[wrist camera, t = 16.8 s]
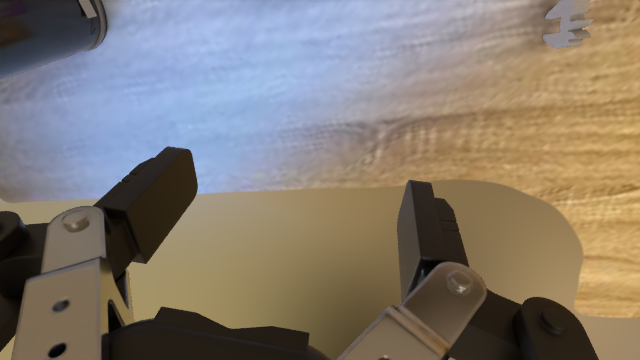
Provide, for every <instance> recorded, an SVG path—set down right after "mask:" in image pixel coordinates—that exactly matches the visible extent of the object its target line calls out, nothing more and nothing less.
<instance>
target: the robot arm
mask: <svg viewBox="0 0 640 360" xmlns="http://www.w3.org/2000/svg"><path fill="white" fill-rule="evenodd" d="M105 32H106V18H105V13H104V9H103V6H102V4H101V1H100V0H0V80H3V79H6V78H8V77H11V76H14V75H17V74H20V73H23V72H26V71H28V70H31V69H34V68H37V67H40V66H43V65H45V64H48V63H51V62H54V61H57V60H60V59H63V58H66V57H69V56H71V55H74V54H77V53H80V52H86V51H89V50H92V49H94V48H96V47H97V46H98V45H99V44H100V43H101V42H102V40H103V38H104V36H105ZM197 188H198V184H197V178H196V173H195V167H194V162H193V157H192V153H191V151H190V150H189V149H183V148H176V147H166V148H165V149H164V150H163V151H161V152H160V153H159V154H158V155H157V156H156V157H155V158H151V159H149V160H147V161H145V162H143V163H141V164H139V165H138V166H136V167H135V168H134V169H133V170H132V171H131V172H130V173H129V175H127V176H125V177H124V178H123V179H122V181H121V182H119V183H118V184H117V185H115V186H114V187H113V188H112V189H111V190H110V191H109V192H108V193H107V194H106V195H104V196H103V197H102V198H101V199H100V200H99V201H98V202H97V203H96V204H94V205H93V206H81V207H76V208H72V209H70V210H67V211H65V212H63V213H61V214H59V215H58V216H56V217H55V218H54V219H53V220H52V221H51V222H50V223H42V224H29V225H24V223H23V221H22V220H21V218H20V217H19V215H18V214H16V213H14V212H10V211H1V212H0V352H1V350H2V349H3V348H4V347H5V346H6V345H7V343H9V341H10V340H11V339H12V338H13V337H14V336H15V334H16V336H15V341H14V347H13V352H12V358H11V360H331V359H330V358H328V357H327V356H326V355H325V354H324V353H322V352H321V351H319V350H318V349H316V348H314V347H312V346H310V345H308V343H309V333H307V332H302V331H296V330H291V329H285V328H279V327H273V326H268V327H256V328H240V329H230V328H227V327H225V326H223V325H220V324H219V323H216V322H214V321H212V320H210V319H208V318H206V317H204V316H202V315H200V314H198V313H195V312H189V311H183V310H178V309H173V308H167V307H161V308H160V310H159V311H158V313H157V315H156V316H155V318H152V319H146V320H141V321H138V322H135V321H134V315H133V306H132V297H131V288H130V278H129V272H128V269H127V267H128V266H129V264H130V263H131V262H138V263H144V264H147V262H148V261H149V260H150V258H151V257H152V255H153V254H154V252H155V251H156V250H157V249H158V247H159V246H160V244H161V243H162V242H163V240H164V239H165V237H166V236H167V235H168V234H169V232H170V231H171V230H172V228H173V227H174V226H175V224H176V223H177V221H178V220H179V219H180V217H181V216H182V214H183V213H184V212H185V211H186V209H187V208H188V206H189V205H190V204H191V202H192V201H193V200H194V198H195V196H196V193H197ZM397 223H398V224H397V235H398V250H399V266H400V281H401V299H402V303H401V304H400V305H399V306H397V307H395V306H394V305H392V306H390V307H388V308H387V309H386V310H385V311H384V312H383V313H382V314H381V315H380V316H379V317H378V318H377V319H376V320H375V321H374V322H373V323H372V324H371V325H370V326H369V327H368V328H367V329H366V330H365V331H364V332H363V333H362V334H361V335H360V336H359V337H358V338H357V339H356V340H355V341H354V342H353V343H352V345H350V346H349V347H348V348H347V350H346V351H345V352H344V353H343V354H342V355H341V356H340V357H339V358H338V359H337V360H448V359H449V358H450V357H451V358H454V359H456V360H599V359H598V357H597V355H596V353H595V351H594V348H593V347H592V344H591V342H590V340H589V338H588V336H587V334H586V332H585V329H584V327H583V326H582V324H581V323H580V322H579V320H578V319H577V318H576V317H575V315H574V314H572V313H571V312H570V311H569V310H567V309H566V308H565V307H564V306H562V305H560V304H559V303H557V302H555V301H552V300H550V299H546V298H542V297H532V298H529V299H527V300H525V301H524V303H523V304H522V305H521V304H518V303H516V302H514V301H511V300H509V299H506V298H504V297H501V296H499V295H497V294H495V293H493V292H491V291H489V290H488V289H487V288H486V285H485V283H484V281H483V280H482V278H481V277H480V276H479V275H478V274H477V273H476V272H475V271H474V270H472V269H471V268H470V267H469V264H468V260H467V257H466V253H465V250H464V246H463V243H462V239H461V235H460V233H459V228H458V225H457V223H456V218H455V214H454V210H453V209H452V208H451V207H450V205H449V204H448V203H447V202H446V200H445V199H441V198H434V193H433V189H432V185H431V183H429V182H422V181H414V180H409V181H408V183H407V186H406V189H405V193H404V196H403V200H402V204H401V208H400V211H399V215H398V222H397Z"/></svg>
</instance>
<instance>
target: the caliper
mask: <svg viewBox="0 0 640 360" xmlns="http://www.w3.org/2000/svg"><path fill="white" fill-rule="evenodd" d="M588 5H589V0H561V1H560V2H559V3H558V4H557V5H556V6H554V7H553V8H552V9H551V10H550V11H549V12H548V13H547V15H546V17H545V19H546V20H547V19H549V20H551V19H558V18H561V23H560V32H559V33H552V34H545V35H543V40H544V42H546V43H547V44H549V45H551V46H552V47H554V48H556V49H557V48H567V47H575V46H581V45H582V40H583V38H590V37H591V35H590V33H589V32H588V31H586V30H582V28H585V27H587V26H588V25H589V24H590V23H591V22H592V21H593V20H594V18H590V19H585V18H583V17H584V13H587V11H588Z"/></svg>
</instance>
